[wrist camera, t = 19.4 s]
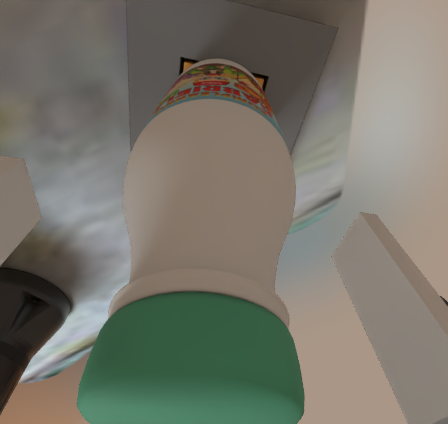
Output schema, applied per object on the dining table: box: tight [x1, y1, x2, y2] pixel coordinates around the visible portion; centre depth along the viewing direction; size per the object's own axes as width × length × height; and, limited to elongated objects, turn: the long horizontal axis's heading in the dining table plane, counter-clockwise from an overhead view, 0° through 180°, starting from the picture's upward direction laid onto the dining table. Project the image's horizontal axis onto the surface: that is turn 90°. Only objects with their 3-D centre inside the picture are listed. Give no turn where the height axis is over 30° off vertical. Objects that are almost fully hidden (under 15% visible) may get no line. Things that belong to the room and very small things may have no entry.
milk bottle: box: [77, 59, 304, 424], centre depth 13 cm, size 8×8×20 cm
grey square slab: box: [126, 0, 338, 154], centre depth 22 cm, size 14×14×3 cm
